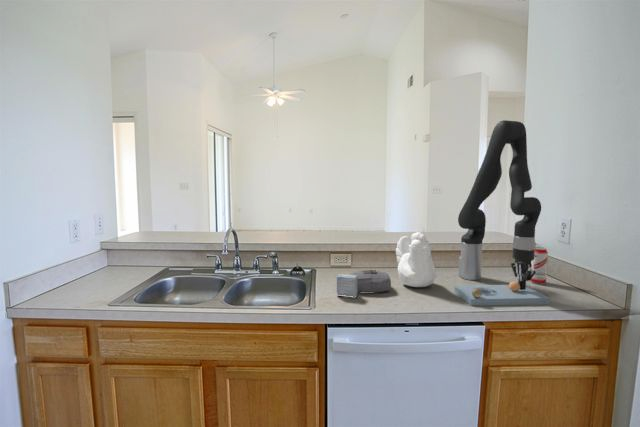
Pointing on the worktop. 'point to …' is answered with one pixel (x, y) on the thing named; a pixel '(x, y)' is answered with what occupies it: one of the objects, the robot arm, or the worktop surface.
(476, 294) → the cork ball
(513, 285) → the ball
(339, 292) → the medicine box
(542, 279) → the beer can
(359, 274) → the grey rounded bag
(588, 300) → the worktop surface
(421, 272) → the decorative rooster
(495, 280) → the worktop surface
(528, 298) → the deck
